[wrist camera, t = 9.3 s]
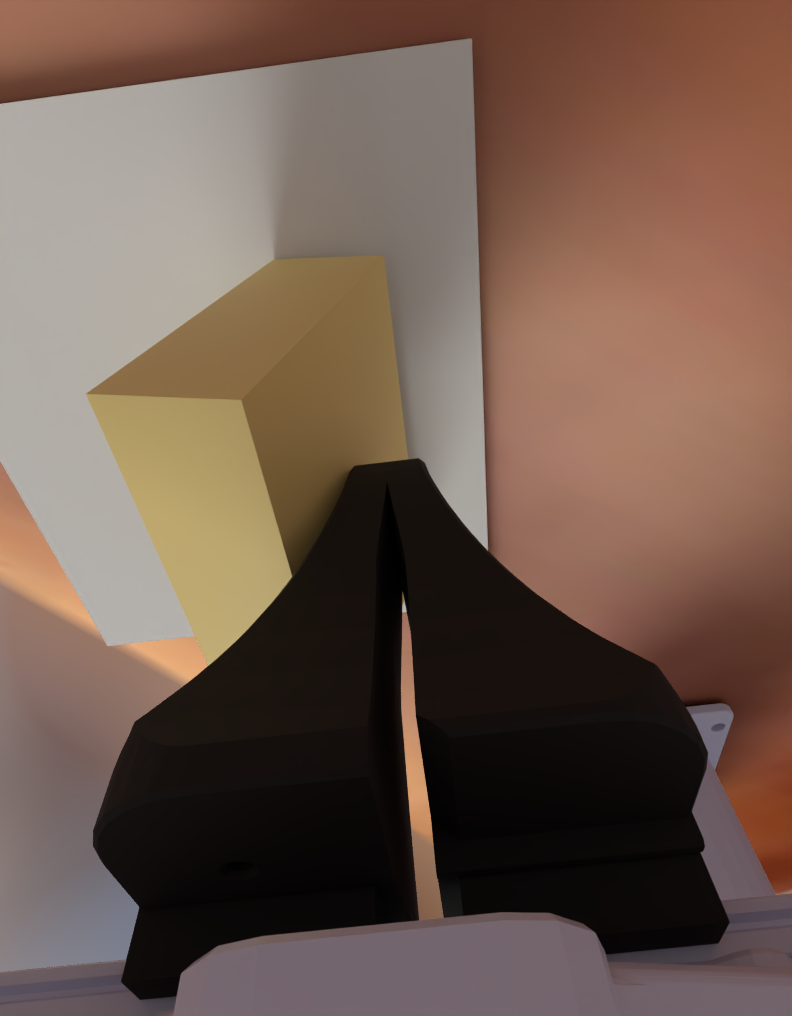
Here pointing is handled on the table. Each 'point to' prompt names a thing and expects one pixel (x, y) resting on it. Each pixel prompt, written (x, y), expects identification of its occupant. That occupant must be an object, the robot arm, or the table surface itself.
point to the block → (255, 430)
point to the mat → (226, 270)
